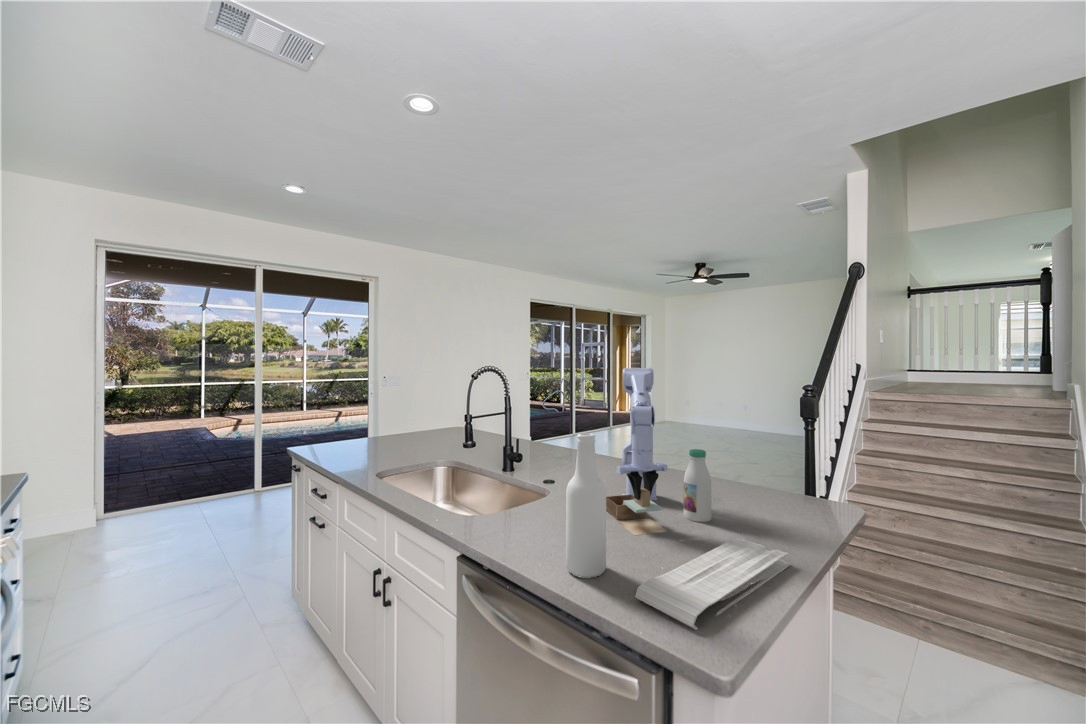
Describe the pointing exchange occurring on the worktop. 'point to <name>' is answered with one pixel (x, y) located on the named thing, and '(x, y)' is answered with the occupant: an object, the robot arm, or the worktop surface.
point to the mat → (642, 526)
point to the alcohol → (586, 514)
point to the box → (621, 507)
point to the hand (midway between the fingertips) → (642, 498)
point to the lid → (642, 503)
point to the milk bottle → (697, 488)
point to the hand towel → (711, 579)
